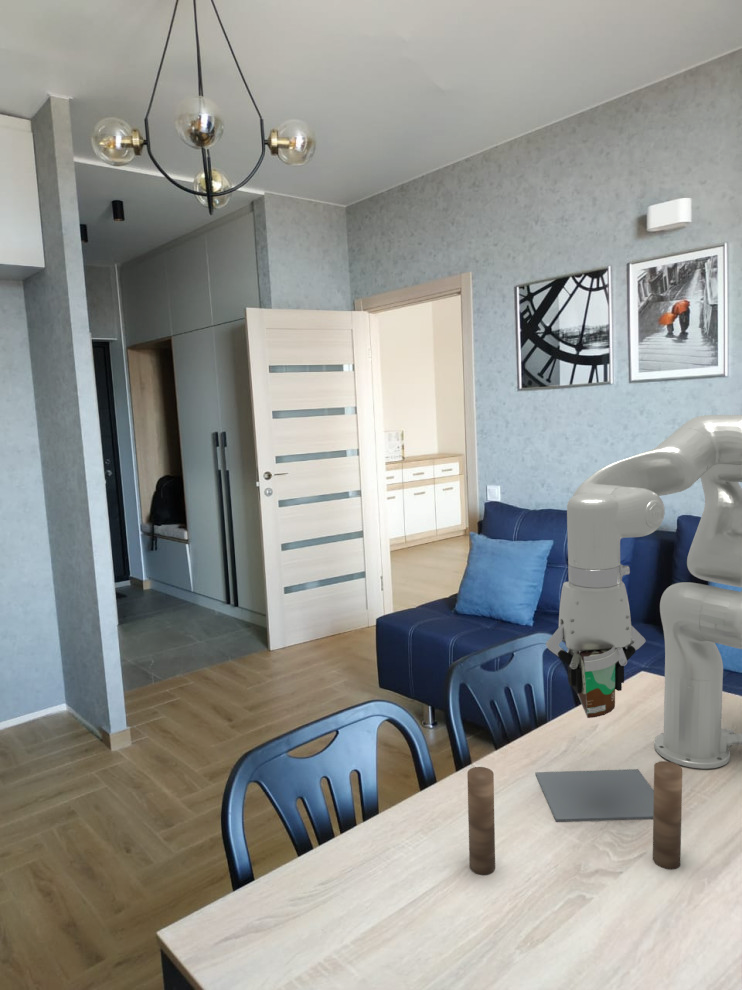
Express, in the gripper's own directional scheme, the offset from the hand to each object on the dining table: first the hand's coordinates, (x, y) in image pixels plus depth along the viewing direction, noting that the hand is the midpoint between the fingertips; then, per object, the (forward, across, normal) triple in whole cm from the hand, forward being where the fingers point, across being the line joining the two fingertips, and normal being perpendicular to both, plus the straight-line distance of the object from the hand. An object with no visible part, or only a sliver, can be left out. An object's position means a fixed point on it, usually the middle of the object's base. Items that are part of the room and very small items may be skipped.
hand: (596, 687), depth 108 cm
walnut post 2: (+21, -5, +13) cm, 25 cm away
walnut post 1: (+20, +21, +12) cm, 31 cm away
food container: (+3, -1, 0) cm, 3 cm away
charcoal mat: (+21, -2, -4) cm, 21 cm away
